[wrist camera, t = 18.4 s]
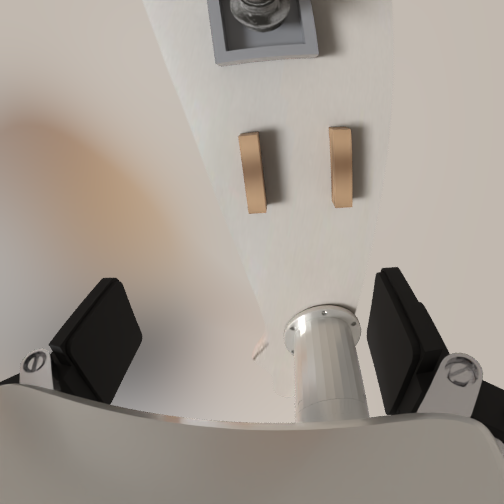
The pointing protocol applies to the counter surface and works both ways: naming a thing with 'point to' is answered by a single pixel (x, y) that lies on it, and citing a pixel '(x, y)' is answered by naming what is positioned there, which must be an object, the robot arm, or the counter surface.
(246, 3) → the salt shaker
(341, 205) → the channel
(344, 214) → the counter surface
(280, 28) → the square tray
